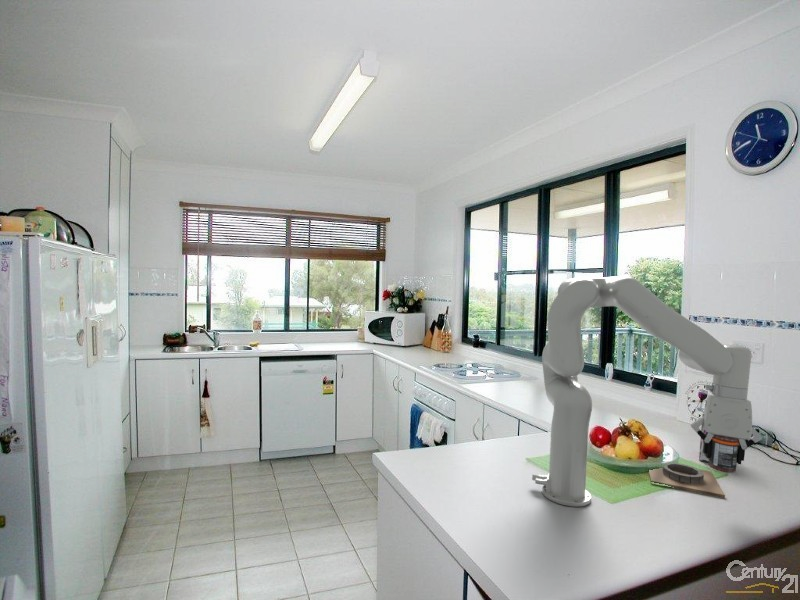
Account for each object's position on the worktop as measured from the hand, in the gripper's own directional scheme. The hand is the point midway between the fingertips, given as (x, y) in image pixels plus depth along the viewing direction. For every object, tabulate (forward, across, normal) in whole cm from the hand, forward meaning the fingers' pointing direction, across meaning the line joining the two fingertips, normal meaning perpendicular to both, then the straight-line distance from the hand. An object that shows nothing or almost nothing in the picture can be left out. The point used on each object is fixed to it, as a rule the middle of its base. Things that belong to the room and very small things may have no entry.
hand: (722, 459), depth 117 cm
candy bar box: (+13, +5, +43) cm, 46 cm away
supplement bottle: (+3, 0, 0) cm, 3 cm away
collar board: (+13, -6, +17) cm, 23 cm away
